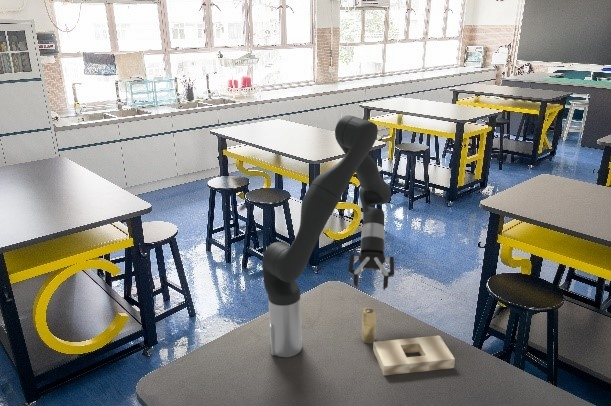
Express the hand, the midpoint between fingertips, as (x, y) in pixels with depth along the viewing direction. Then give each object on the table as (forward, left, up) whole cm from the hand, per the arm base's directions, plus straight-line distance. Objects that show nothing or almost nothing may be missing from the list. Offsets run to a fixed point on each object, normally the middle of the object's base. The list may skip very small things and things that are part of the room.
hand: (370, 288), depth 152 cm
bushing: (-3, -9, -13) cm, 15 cm away
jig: (+7, -20, -13) cm, 24 cm away
